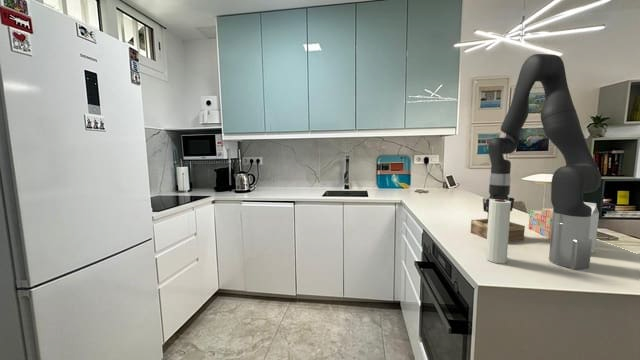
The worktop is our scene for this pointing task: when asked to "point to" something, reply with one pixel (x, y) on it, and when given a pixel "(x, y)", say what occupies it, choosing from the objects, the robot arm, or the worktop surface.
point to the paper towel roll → (498, 230)
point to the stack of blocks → (541, 221)
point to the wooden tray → (481, 227)
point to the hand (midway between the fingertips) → (497, 220)
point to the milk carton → (593, 224)
